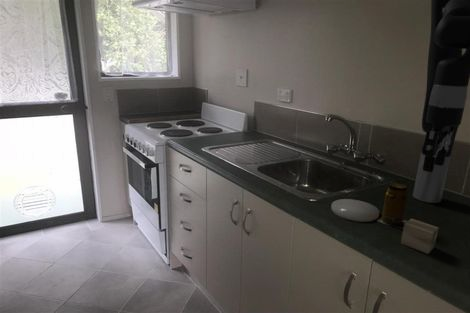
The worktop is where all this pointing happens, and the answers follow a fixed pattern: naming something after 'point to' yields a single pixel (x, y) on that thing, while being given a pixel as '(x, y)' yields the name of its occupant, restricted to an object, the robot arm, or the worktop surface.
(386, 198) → the condiment
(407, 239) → the block
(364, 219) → the dish
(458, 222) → the worktop surface
